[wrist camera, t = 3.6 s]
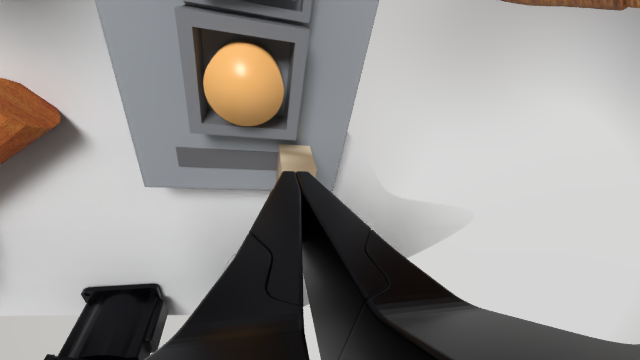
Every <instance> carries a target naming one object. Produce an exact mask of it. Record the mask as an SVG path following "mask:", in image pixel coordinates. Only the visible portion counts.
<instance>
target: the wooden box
mask: <svg viewBox="0 0 640 360" xmlns="http://www.w3.org/2000/svg"><path fill="white" fill-rule="evenodd" d="M502 1H505V2H511V3H517V4H524V5H534V6H568V7H580V8H595V9H607V10H624V9H626V8H627V7H633V8H640V0H502Z"/></svg>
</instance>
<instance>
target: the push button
mask: <svg viewBox="0 0 640 360" xmlns="http://www.w3.org/2000/svg"><path fill="white" fill-rule="evenodd" d="M203 86H204V92H205V95H206V98H207V100H208V102H209V104H210V106H211V107H212V108H213V110H214V111H215V112H216V113H217V114H218V115H219V116H221V117H222V118H223V119H225V120H227V121H229V122H231V123H233V124H236V125H241V126H255V125H259V124H262V123H264V122H266V121H268V120H270V119H271V118H272V117H273V116H274V115H275V114H276V113H277V112H278V110H279V108H280V106H281V104H282V101H283V96H284V87H283V82H282V77H281V73H280V68H279V65H278V62H277V61H276V59H275V57H274V56H273V54H272V53H271V52H270V51H269V50H268V49H267V48H266V47H265V46H263V45H262V44H260V43H258V42H256V41H253V40H250V39H235V40H231V41H229V42H227V43H225V44H224V45H223V46H221V47H220V49H219V50H218V51H217V52H216V54H215V55H214V57H213V58H212V60H211V61H210V63H209V64H208V66H207V68H206V70H205V74H204V80H203Z"/></svg>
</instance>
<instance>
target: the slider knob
mask: <svg viewBox="0 0 640 360" xmlns="http://www.w3.org/2000/svg"><path fill="white" fill-rule="evenodd" d="M283 171H295V173H296V172H297V171H307V172H309V173H310V174H311V175H313V176H314V177H316V172H317V168H316V165H315V162H314V158H313V155H312V152H311V148H310V146H303V145H287V144H279V150H278V162H277V173H276V182H277V181H278V179H279V177H280V175H281V173H282V172H283Z"/></svg>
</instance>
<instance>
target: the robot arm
mask: <svg viewBox="0 0 640 360" xmlns="http://www.w3.org/2000/svg"><path fill="white" fill-rule="evenodd" d="M303 274H304V279H305V284H306V289H307V294H308V298H309V303H310V308H311V313H312V317H313V323H314V327H315V332H316V337H317V342H318V347H319V352H320V356H321V360H640V344H638V345H632V344H622V343H616V342H611V341H605V340H601V339H597V338H592V337H588V336H584V335H580V334H576V333H573V332H568V331H565V330H561V329H557V328H553V327H550V326H546V325H542V324H538V323H534V322H531V321H527V320H523V319H519V318H515V317H512V316H508V315H504V314H500V313H496V312H493V311H489V310H485V309H482V308H479V307H476V306H474V305H472V304H470V303H467V302H465V301H464V300H462V299H460V298H458V297H457V296H455V295H454V294H453V293H451V292H450V291H448V290H447V289H446V288H444V287H443V286H442V285H441V284H439V283H438V282H436V281H435V280H434V279H432V278H431V277H430V276H429V275H427V274H426V273H424V272H423V271H422V270H421V269H419V268H418V267H417V266H415V265H414V264H413V263H411V262H410V261H409V260H407V259H406V258H405V257H404V256H403V255H401V254H400V253H399V252H397V251H396V250H395V249H394V248H393V247H391V246H390V245H389V244H388V243H387V242H386V241H384V240H383V239H382V238H381V237H380V236H379V235H378V234H377V233H375V232H374V231H373V230H371V228H370V227H369V226H368V225H367V224H365V223H364V222H363V221H362V220H361V219H360V218H359V217H358V216H357V215H356V214H354V213H353V212H352V211H351V210H350V209H349V208H348V207H347V206H346V205H344V204H343V203H342V202H341V201H340V200H339V199H338V198H337V197H336V196H335V195H333V194H332V193H331V192H330V191H329V190H328V189H327V188H326V187H325V186H324V185H322V184H321V183H320V182H319V181H318V180H317V179H316V178H315V177H314V176H313V175H311V174H310V173H309V172H307V171H297V172H296V173H295V171H283V172H282V173H281V175H280V177H279V179H278V181H277V182H276V184H275V186H274V188H273V190H272V191H271V193H270V195H269V197H268V199H267V201H266V202H265V204H264V206H263V208H262V210H261V211H260V213H259V215H258V217H257V219H256V221H255V222H254V224H253V226H252V228H251V230H250V231H249V234H248V235H247V237H246V238H245V240H244V242H243V244H242V245H241V247H240V249H239V250H238V252H237V254H236V255H235V257H234V259H233V260H232V261H231V263H230V264H229V266H228V267H227V268H226V270H225V271H224V273H223V274H222V275H221V277H220V278H219V279H218V281H217V282H216V283H215V285H214V286H213V287H212V289H211V290H210V291H209V292H208V294H207V295H206V296H205V298H204V299H203V300H202V302H201V303H200V304H199V306H198V307H197V308H196V310H195V311H194V312H193V314H192V315H191V316H190V317H189V319H188V320H187V321H186V322H185V324H184V325H183V326H182V327H181V328H180V330H179V331H178V332H177V333H176V334H175V335H174V336H173V337H172V338H171V339H170V340H169V341H168V342H167V343H166V344H164V345H163V346H162V347H161V348H160V349H158V346H159V342H160V339H161V335H162V331H163V328H164V325H165V321H166V318H167V314H168V310H167V307H166V303H165V300H164V299H163V298H162V296H161V293H160V290H159V287H158V285H156V284H145V285H128V286H111V287H94V288H85V289H84V290H83V291H82V293H81V295H82V297H83V298H84V300H85V302H86V303H87V304H86V306H85V307H84V309H83V311H82V313H81V315H80V317H79V318H78V320H77V322H76V324H75V326H74V327H73V329H72V331H71V333H70V335H69V337H68V338H67V340H66V342H65V344H64V346H63V348H62V349H61V351H60V353H59V355H58V356H55V355H50V354H47V356H46V357H45V359H44V360H309V355H308V350H307V344H306V339H305V334H304V319H303ZM157 349H158V350H157ZM156 350H157V351H156ZM155 351H156V352H155ZM153 352H154V353H153ZM150 353H153V354H151V355H150Z"/></svg>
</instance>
